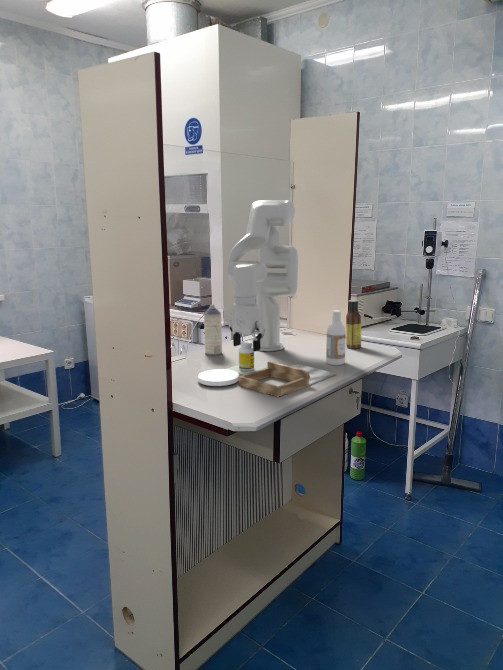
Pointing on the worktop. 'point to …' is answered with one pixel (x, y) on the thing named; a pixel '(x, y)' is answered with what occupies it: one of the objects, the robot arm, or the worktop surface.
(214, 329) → the aerosol can
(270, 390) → the frame
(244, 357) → the supplement bottle
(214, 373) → the plastic lid
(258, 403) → the worktop surface
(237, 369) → the tray
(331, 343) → the bath foam
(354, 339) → the sauce bottle
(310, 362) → the worktop surface
